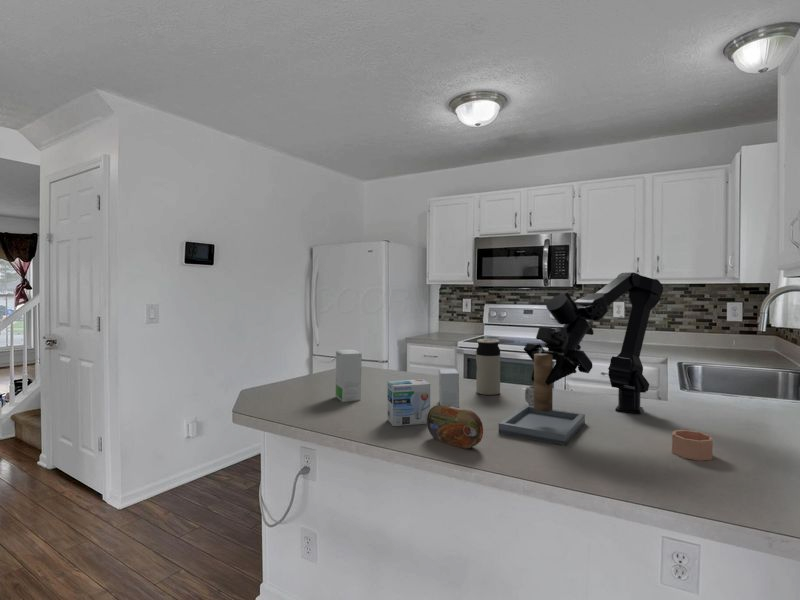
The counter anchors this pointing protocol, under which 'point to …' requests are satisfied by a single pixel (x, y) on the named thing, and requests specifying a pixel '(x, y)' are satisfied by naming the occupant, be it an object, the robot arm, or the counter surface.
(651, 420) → the counter surface
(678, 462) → the counter surface
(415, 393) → the light bulb box
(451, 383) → the small box
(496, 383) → the travel mug
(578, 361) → the robot arm
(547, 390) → the walnut dowel
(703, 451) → the terracotta cup
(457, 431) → the tin
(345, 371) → the skincare box
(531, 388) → the mug
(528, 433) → the slate tray
